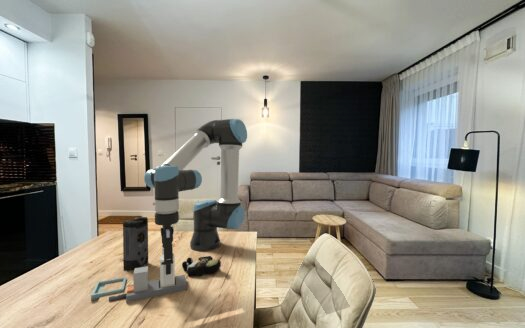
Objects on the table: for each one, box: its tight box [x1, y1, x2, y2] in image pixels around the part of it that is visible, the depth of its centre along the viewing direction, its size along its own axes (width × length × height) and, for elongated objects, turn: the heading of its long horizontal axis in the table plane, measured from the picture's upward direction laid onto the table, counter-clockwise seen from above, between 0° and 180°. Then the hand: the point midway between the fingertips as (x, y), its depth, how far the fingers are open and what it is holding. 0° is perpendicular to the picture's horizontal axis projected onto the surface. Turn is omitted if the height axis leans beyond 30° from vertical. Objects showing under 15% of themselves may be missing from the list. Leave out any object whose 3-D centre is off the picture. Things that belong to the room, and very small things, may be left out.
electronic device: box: [122, 216, 149, 272], centre depth 100 cm, size 9×6×20 cm, turn 168°
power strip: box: [108, 265, 188, 304], centre depth 80 cm, size 23×7×9 cm, turn 114°
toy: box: [181, 255, 222, 277], centre depth 96 cm, size 12×8×15 cm
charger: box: [159, 253, 176, 288], centre depth 82 cm, size 4×4×11 cm
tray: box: [90, 276, 127, 302], centre depth 82 cm, size 9×9×2 cm
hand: (167, 273), depth 82 cm, fingers open, 12 cm apart
